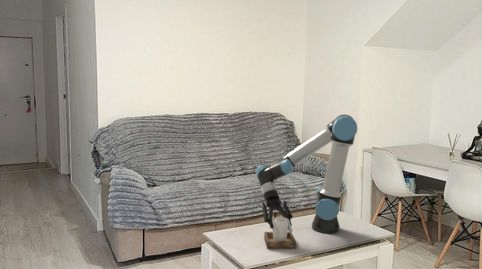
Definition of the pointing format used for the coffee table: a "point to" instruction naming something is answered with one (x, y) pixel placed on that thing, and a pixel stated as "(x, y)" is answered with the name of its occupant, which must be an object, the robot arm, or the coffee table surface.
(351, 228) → the coffee table surface
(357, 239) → the coffee table surface
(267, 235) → the tray
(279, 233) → the white cup
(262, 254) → the coffee table surface
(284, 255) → the coffee table surface
